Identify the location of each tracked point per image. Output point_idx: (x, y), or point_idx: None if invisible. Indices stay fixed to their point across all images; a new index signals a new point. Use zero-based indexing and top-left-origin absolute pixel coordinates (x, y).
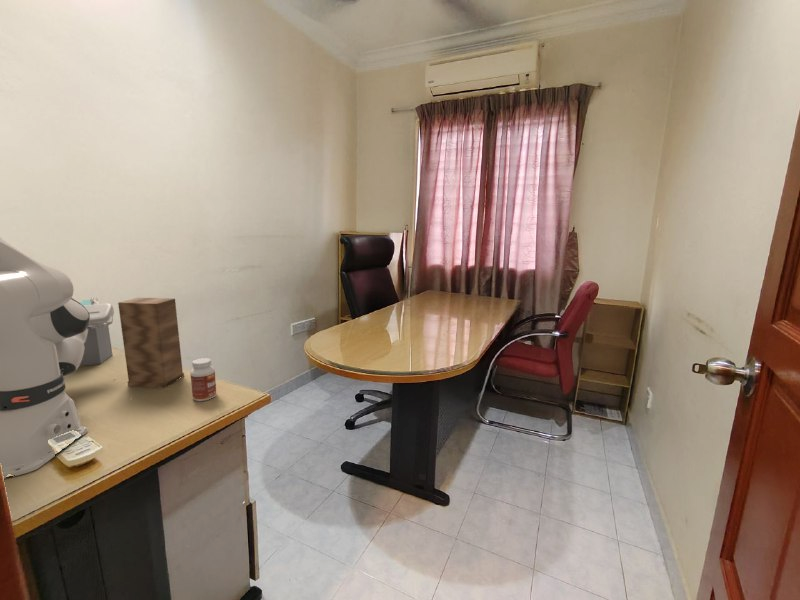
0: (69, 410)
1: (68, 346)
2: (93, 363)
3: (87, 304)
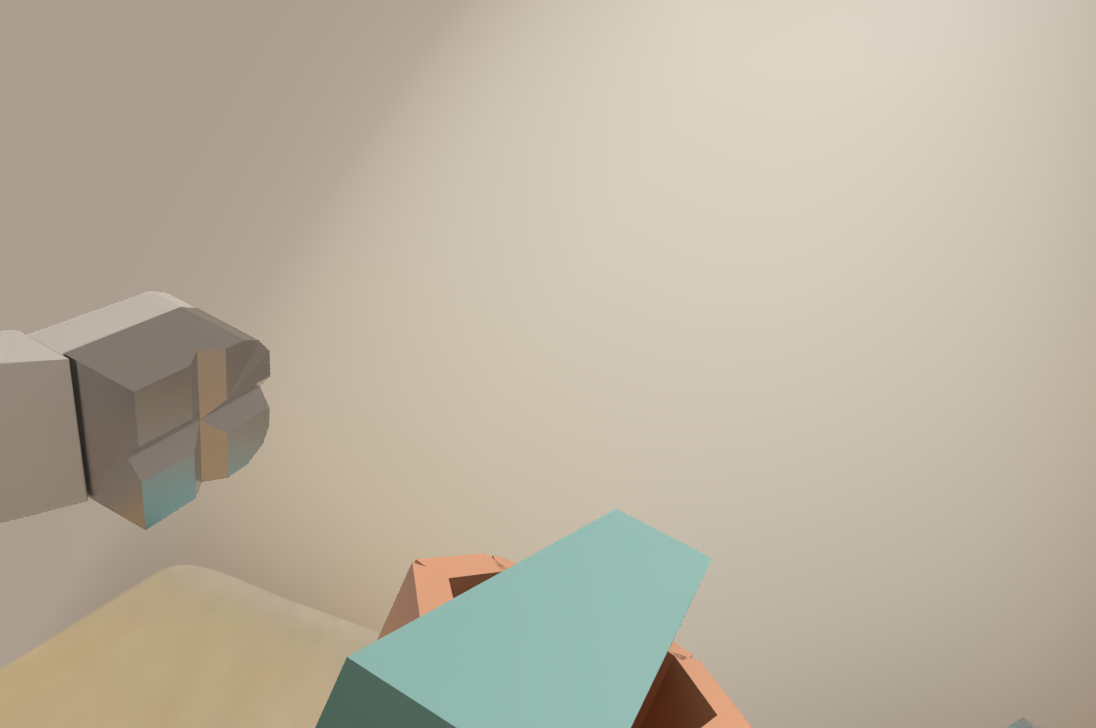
0: None
1: None
2: None
3: (642, 604)
